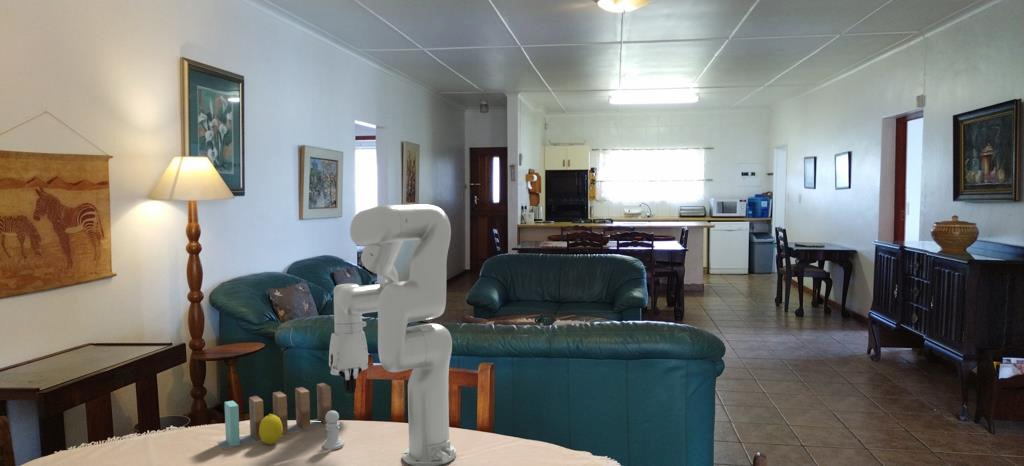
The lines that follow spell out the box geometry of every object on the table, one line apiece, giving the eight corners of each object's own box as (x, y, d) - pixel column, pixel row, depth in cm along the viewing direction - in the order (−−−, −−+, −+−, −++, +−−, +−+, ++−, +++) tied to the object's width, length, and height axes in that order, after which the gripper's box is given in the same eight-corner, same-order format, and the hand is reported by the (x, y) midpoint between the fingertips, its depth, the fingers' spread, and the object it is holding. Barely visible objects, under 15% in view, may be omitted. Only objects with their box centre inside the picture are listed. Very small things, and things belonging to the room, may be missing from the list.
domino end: (239, 444, 160) (238, 405, 160) (231, 446, 159) (229, 406, 158) (234, 438, 164) (232, 400, 164) (225, 440, 163) (224, 402, 162)
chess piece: (320, 451, 156) (319, 414, 156) (324, 442, 162) (323, 407, 161) (342, 450, 157) (341, 413, 156) (346, 441, 162) (345, 406, 162)
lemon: (275, 450, 157) (274, 418, 157) (254, 448, 158) (253, 416, 158) (287, 441, 163) (286, 410, 162) (267, 440, 164) (266, 409, 163)
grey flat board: (333, 424, 175) (333, 423, 175) (223, 450, 157) (223, 449, 157) (324, 418, 180) (324, 417, 180) (217, 443, 162) (216, 442, 162)
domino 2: (287, 433, 168) (286, 395, 167) (280, 435, 166) (278, 397, 166) (281, 428, 172) (280, 391, 171) (273, 429, 170) (272, 392, 170)
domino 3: (310, 428, 171) (309, 391, 171) (303, 429, 170) (301, 392, 170) (303, 423, 175) (302, 387, 175) (296, 424, 174) (295, 388, 174)
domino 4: (331, 422, 175) (330, 386, 175) (324, 424, 174) (323, 388, 173) (324, 418, 179) (323, 382, 178) (317, 419, 178) (316, 384, 177)
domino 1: (264, 438, 164) (263, 400, 163) (256, 440, 163) (254, 402, 162) (258, 433, 168) (257, 395, 167) (250, 435, 167) (249, 397, 166)
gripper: (367, 322, 187) (368, 384, 188) (317, 329, 178) (319, 394, 179) (378, 326, 181) (380, 390, 182) (328, 333, 172) (329, 401, 173)
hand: (350, 392), depth 181 cm, fingers closed
